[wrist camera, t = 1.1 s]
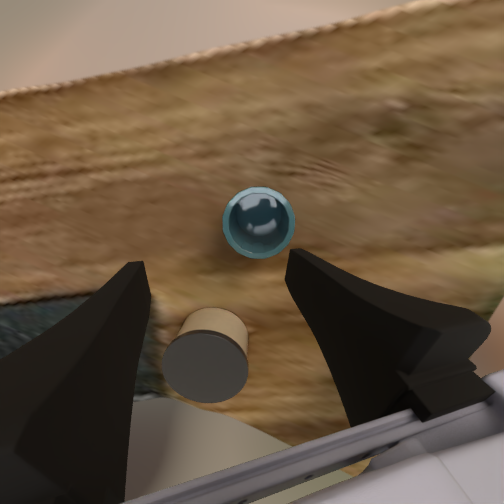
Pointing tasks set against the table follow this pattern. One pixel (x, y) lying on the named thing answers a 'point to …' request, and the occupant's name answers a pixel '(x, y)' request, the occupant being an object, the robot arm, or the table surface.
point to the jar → (208, 356)
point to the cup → (258, 222)
